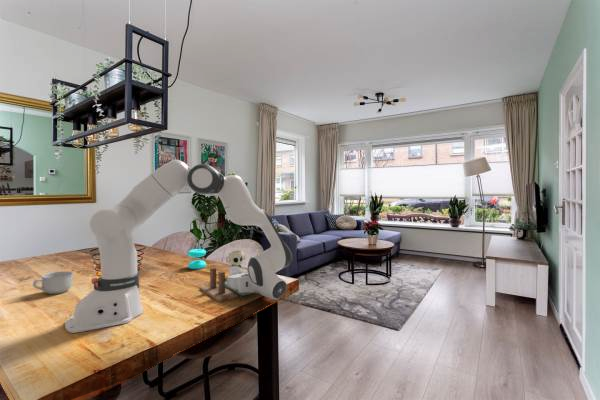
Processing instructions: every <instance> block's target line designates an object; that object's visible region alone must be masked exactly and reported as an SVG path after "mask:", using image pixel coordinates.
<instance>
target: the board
mask: <svg viewBox="0 0 600 400" xmlns="http://www.w3.org/2000/svg"><path fill="white" fill-rule="evenodd" d="M225 288H226V289H228V290H230V291H232V292H234V293H236V294H237V295H240V296H246V295H251V294H254V293H255V292H243V293H240V292H238V290H235V289H233V288H231V287H229V286H227V283H226V281H225Z"/></svg>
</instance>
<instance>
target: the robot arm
mask: <svg viewBox="0 0 600 400" xmlns="http://www.w3.org/2000/svg"><path fill="white" fill-rule="evenodd" d="M186 188H190V189H191V190H192V191H193V192H194V193H196V194H199V195H201V196H202V195H203V196H209V195H212V194H214V195H217V196H218V197H219V199H220V201H221V203H222V205H223V208H224V211H225V213H226V216H227V218H228V219H229V220H230V222H232V223H233V224H235V225H238V226H243V227H244V226H255V227H259V228H260V229H261V231H263V233H264V235H265V237H266V239H267V240H268V242H269V243H270V247H269V248H267V249H266V250H263V251H262V252H259V253H257V254H255V255H254V256H252V257H250V258H249V261H248V263H247V270H248V273H247V274H246V273H241V274H240V273H236V275H232V276H230V275H228V276H226V278H225V282H226V283H227V286H229V287H231V288H233V289H235V290H238V292H240V293H243V292H254V293H257V294H260V295H261V296H263V297H265V298H267V299H271V300H279V299H280V298H282V297H283V296H284V294H285V295H286V292H287V287H288V284H287V282H286V280H284V279H283V278H281V277H279V276H278V275H277V272H279V271H281V270H283V269H286V268H287V267H290V265H291V264H292V261H293V254H292V250H291V249H290V248H289V246H288V245H287V244H286V242H285V240H284V239H283V238H282V236H281V234H280V233H279V230H278V229H277V227H276V226H275V224H274V222H273V220H272V219H271V217H270V215H269V214H268V213H267V212H266V210H264V209H263V208H259V206H258V205H256V203H255V202H254V200H253V198H252V197H253V196H251V195H252V194H251V193H250V190H249V188H248V187H247V185H246V184H245V182H244V180H243V178H242V177H241V176H239V175H236V174H229V175H226V176H224V174H222V173H220V172H219V171H218V170H217V169H216V168H215V167H213V166H211V165H210V164H206V163H199V164H196V165H194V166H193V167H190V166H189V165H188V164H187V163H185V162H184V161H182V160H180V159H173V160H171V161H169V162H166V163H164V164H163V165H161V166H159V167H158V168H156V169H155V170H153V171H152V173H150V174H149V175H148V176H147V177H145V178H144V179H142V180H141V181H139V183H137V184H136V185H135V186H134V187H133V188H132V189H131V190H130V192H129V193H128V194H127V195H126V196H125V197H124V198H123V199H122V200H121V201H120V202H117V204H114V205H108V206H104V207H103V208H101V209H99V210H97V211H96V212H95V213H94V214H93V215H92V216H91V218H90V220H89V221H90V222H89V228H90V231H91V232H92V234H94V236H95V240H96V243H97V247H98V251H99V258H100V259H99V260H100V277H93V278H92V279H91V280H90V282H91V284H92V285H93V290H92V291H90V292H89V293H88V294H86V295H85V296H84V297H83V298H81V299H80V300H79V301H78V302H77V303H76V305H75V307H74V311H73V315H72V316H70V317H69V318H67V319H66V321H65V324H64V328H65V330H66V331H67V332H69V333H70V334H71V333H72V334H74V333H76V334H77V333H81V332H86V331H92V330H97V329H98V330H99V329H103V328H109V327H113V326H118V325H123V324H127V323H130V322H131V321H132V320H133V319H135V318H137V317H138V316H140V315H142V314H143V312H144V308H143V305H142V302H141V298H140V293H139V292H140V291H139V288H140V273H139V272H138V251H137V249H136V246H135V243H134V239H133V238H134V237H133V232H135V231H136V230H137V229H138V228H140V227H141V226H142V225H143V224H144V223H145V222H146V221H147V220H148V219H150V217H152V216H153V215H154V214H155V213H156V212H157V211H158V210H159V209H161V207H163V206H164V205H166V204H167V203H168V202H169V201H170V200H171V199H173V198H174V197H175V196H176V195H178V194H179V193H180V192H181V191H182V190H185V189H186Z"/></svg>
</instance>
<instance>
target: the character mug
mask: <svg viewBox="0 0 600 400" xmlns="http://www.w3.org/2000/svg"><path fill="white" fill-rule="evenodd" d="M245 260H246V253H244V252H243V250H238V249H237V250H230V251H228V255H226V257H225V263H226V264H227V263H229V265H230V266H238V267H241V268H242V264H243V262H244V261H245ZM229 276H231V275H230V274H229Z"/></svg>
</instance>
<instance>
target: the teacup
mask: <svg viewBox="0 0 600 400" xmlns="http://www.w3.org/2000/svg"><path fill="white" fill-rule="evenodd" d="M73 275H74V272H73V271H68V270H60V271H52V272H47V273H43V275H41V278H37V279H35V280H33V282H32V286H33V288H34V289H37V290H39V291H40V290H41V292H44V293H46V294H49V295H57V294H63V293H65V292H67V291H68V290H69V289H71V288H72V285H73V280H74V279H73V278H74V277H73ZM38 282H40V283H41V287H40V286H38V285H37V284H38Z"/></svg>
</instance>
